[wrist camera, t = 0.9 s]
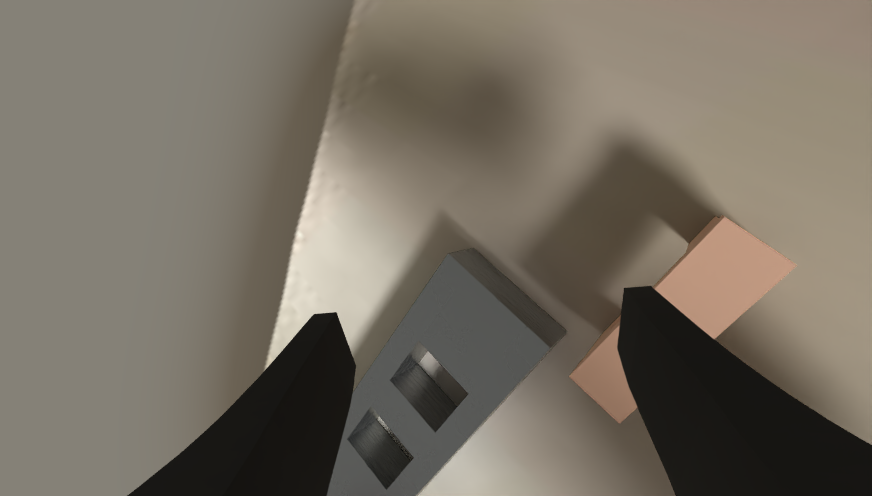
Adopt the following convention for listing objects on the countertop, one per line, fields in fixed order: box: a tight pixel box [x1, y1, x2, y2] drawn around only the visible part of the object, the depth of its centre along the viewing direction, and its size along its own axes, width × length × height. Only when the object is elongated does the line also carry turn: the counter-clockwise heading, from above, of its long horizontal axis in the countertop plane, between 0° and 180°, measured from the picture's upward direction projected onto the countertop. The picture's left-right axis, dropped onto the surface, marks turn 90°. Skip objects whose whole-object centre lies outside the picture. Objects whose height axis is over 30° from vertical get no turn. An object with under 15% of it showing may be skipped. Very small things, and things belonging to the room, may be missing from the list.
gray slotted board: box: [327, 248, 567, 496], centre depth 27 cm, size 7×20×3 cm, turn 144°
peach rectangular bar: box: [569, 215, 797, 424], centre depth 18 cm, size 2×8×6 cm, turn 145°
